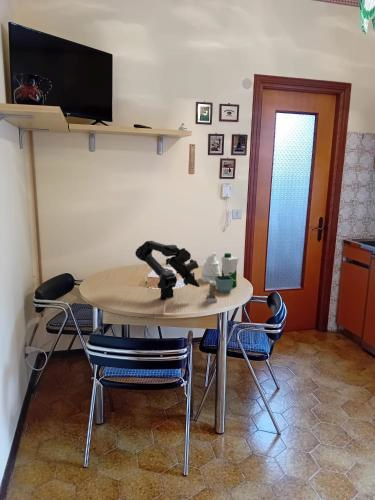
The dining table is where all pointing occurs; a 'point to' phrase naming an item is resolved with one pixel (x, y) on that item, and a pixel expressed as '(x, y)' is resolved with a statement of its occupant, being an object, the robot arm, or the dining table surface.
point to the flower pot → (224, 283)
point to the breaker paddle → (212, 289)
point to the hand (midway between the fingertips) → (199, 286)
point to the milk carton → (229, 267)
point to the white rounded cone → (210, 269)
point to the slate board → (211, 299)
